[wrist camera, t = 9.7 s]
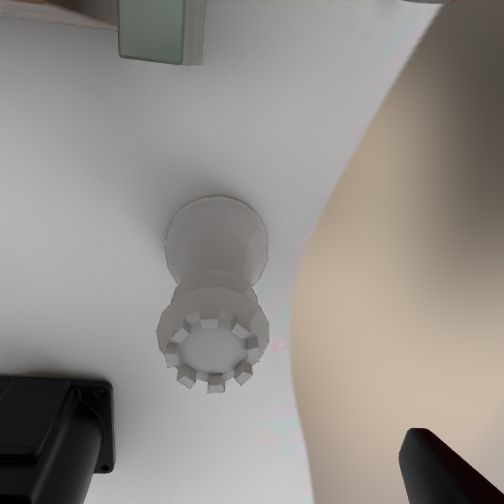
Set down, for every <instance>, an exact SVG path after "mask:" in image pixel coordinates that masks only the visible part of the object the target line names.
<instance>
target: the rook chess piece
mask: <svg viewBox="0 0 504 504" xmlns="http://www.w3.org/2000/svg"><path fill="white" fill-rule="evenodd" d="M165 255H166V262H167V267H168V269H169V271H170V273H171V274H172V276H173V277H174V279H175V281H176V282H177V284H178V285H179V286H178V287H177V288H176V289H175V292H174V295H173V298H172V301H171V304H170V305H169V306H168V307H167V308H166V309H165V310H164V311H163V312H162V315H161V318H160V321H159V324H158V327H157V330H156V332H157V338H158V344H159V349H160V350H161V352H162V353H163V354H164V356H165V357H166V361H167V368H170V367H176V368H177V369H178V374H177V381H178V382H179V383H181V384H183V385H184V386H186V387H187V388H189V389H191V388H192V387H193V385H194V384H195V382H196V379H198V380H203V381H207V382H208V391H207V393H220V392H225V380H228V379H230V378H233V377H234V378H235V381H236V382H237V383H238V384H239V385H240V386H241V385H242V384H243V383H245V382H246V381H247V380H248V379H249V378H250V377H251V376H253V373H252V366H253V365H254V364H255V363H256V362H259V359H260V358H261V357H262V355H263V353H264V351H265V349H266V347H267V345H268V343H269V322H268V321H267V319H266V317H265V315H264V313H263V311H262V309H261V307H260V306H259V305H258V303H257V296H256V294H255V292H254V290H253V289H252V286H253V285H254V284H255V283H256V282H257V281H258V280H259V279H260V276H261V274H262V272H263V269H264V267H265V265H266V262H267V260H268V246H267V232H266V230H265V228H264V225H263V223H262V221H261V219H260V217H259V215H257V214H256V213H255V212H254V211H253V210H252V209H250V208H249V207H248V206H247V205H246V204H245V203H243V202H240V201H237V200H234V199H231V198H229V197H226V196H214V197H202V198H200V199H198V200H196V201H193V202H191V203H189V204H187V205H185V206H184V207H183V208H182V209H181V210H180V211H179V212H178V213H177V214H176V216H175V217H174V218H173V219H172V220H171V222H170V226H169V229H168V232H167V235H166V244H165Z"/></svg>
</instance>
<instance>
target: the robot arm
mask: <svg viewBox="0 0 504 504" xmlns="http://www.w3.org/2000/svg"><path fill="white" fill-rule="evenodd" d="M99 390H103V391H104V392H101V391H99ZM114 465H115V438H114V410H113V388H112V385H111V384H110V383H108V382H106V381H99V380H75V379H52V378H29V377H6V376H0V504H84V501H85V497H86V494H87V491H88V488H89V485H90V482H91V479H92V476H93V473H102V474H105V473H110V472H112V471H113V468H114ZM399 465H400V469H401V473H402V477H403V480H404V484H405V488H406V492H407V495H408V499H409V503H410V504H504V494H503V493H502V492H501V491H500V490H498V489H497V488H496V487H495V486H493V484H491V483H490V482H489V481H488V480H487V479H486V478H485V477H483V476H482V475H481V474H480V473H479V472H478V471H476V470H475V469H474V468H473V467H472V466H470V465H469V464H468V463H467V462H466V461H465V460H464V459H462V458H461V457H460V456H459V455H458V454H457V453H456V452H454V451H453V450H452V449H451V448H450V447H448V446H447V445H446V444H445V443H444V442H443V441H442V440H441V439H439V438H438V437H437V436H436V435H435V434H434V433H432V432H431V431H430V430H428V429H425V428H410V429H409V430H408V431H407V433H406V436H405V438H404V441H403V444H402V447H401V449H400V452H399Z"/></svg>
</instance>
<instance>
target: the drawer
mask: <svg viewBox="0 0 504 504" xmlns="http://www.w3.org/2000/svg"><path fill="white" fill-rule="evenodd" d="M403 1H408V2H416V3H430V4H440V3H451V2H456V1H459V0H403ZM205 2H206V0H0V16H6V17H13V18H21V19H28V20H36V21H44V22H51V23H59V24H66V25H74V26H82V27H89V28H97V29H104V30H112V31H118V51H119V56H120V57H121V58H126V59H134V60H142V61H150V62H158V63H166V64H174V65H201V64H202V53H203V36H204V19H205Z"/></svg>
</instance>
